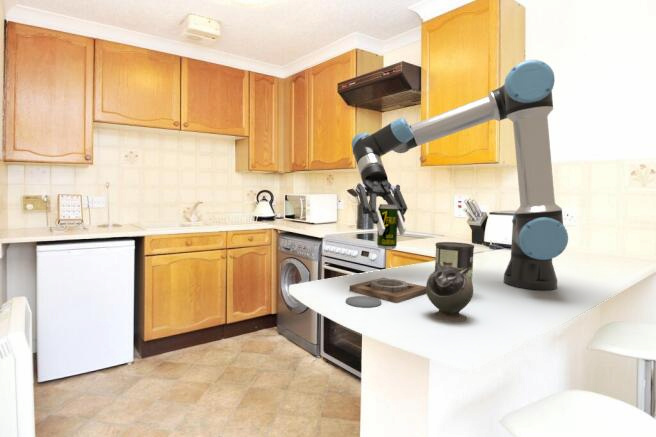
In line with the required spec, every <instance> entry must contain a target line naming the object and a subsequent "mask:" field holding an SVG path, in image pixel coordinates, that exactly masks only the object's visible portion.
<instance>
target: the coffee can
mask: <svg viewBox="0 0 656 437" xmlns="http://www.w3.org/2000/svg"><path fill="white" fill-rule="evenodd" d="M474 248H475V245H474V244H472V243H464V242H455V241H440V242H439V241H438V242H436V243H435V259H434V260H435V262H434V263H435V264H434V266H435V265H436V263H438V264H441V266H443V267H456V268H459V269H461V270H462V269H463V268H464V267H468V268H469V271H468V273H466V274H467V275H468V276H469V278H470V279H471V281H472V282H473V270H474V269H473V267H474V250H475V249H474Z"/></svg>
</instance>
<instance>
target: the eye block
mask: <svg viewBox="0 0 656 437" xmlns="http://www.w3.org/2000/svg"><path fill="white" fill-rule="evenodd" d="M348 290H349V292H352V293H357V294H360V295H363V296H368V297H374V298H377V299H379V300H383V301H386V302H387V301H388V302H391V303H395V304H396V303H398V304H399V303H401V302H404V301H407V300H410V299H413V298H416V297H419V296H423V295H425V294H426V295H427V293H426V285H421V284H415V283H411V282H407V281H405V280H401V279H395V278H387V277H381V278H376V279H371V280H368V281H364V282H359V283H356V284H351V285H349V289H348Z"/></svg>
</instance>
